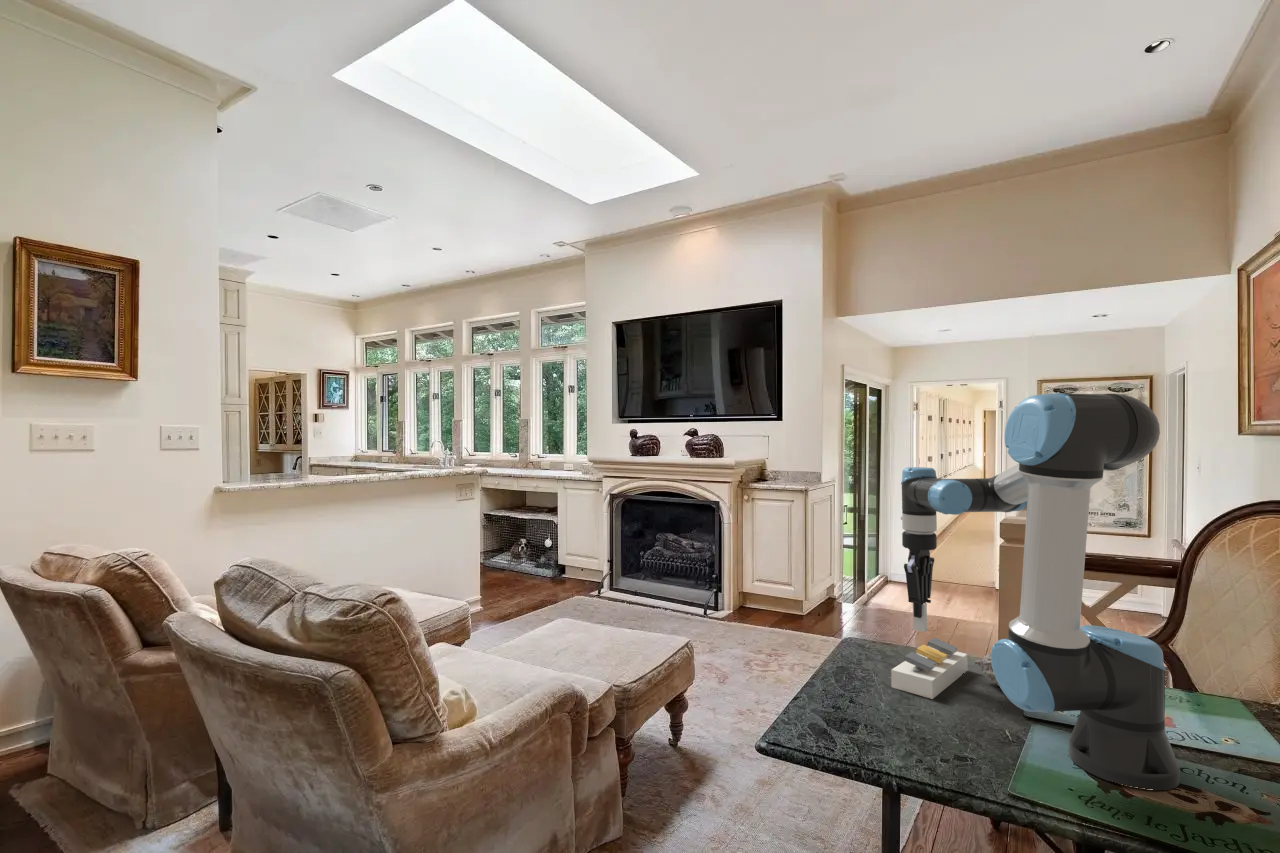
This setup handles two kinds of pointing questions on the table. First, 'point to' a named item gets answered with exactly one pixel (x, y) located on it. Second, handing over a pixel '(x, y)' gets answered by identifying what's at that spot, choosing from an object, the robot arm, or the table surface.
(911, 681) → the white rocker switch box
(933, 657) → the amber rocker
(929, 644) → the block
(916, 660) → the block
